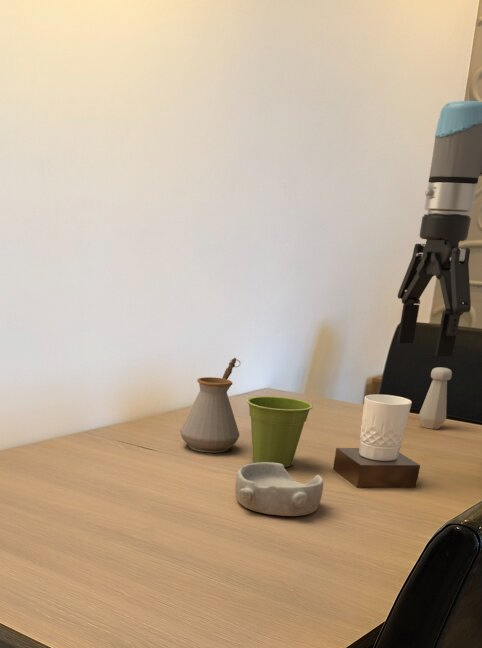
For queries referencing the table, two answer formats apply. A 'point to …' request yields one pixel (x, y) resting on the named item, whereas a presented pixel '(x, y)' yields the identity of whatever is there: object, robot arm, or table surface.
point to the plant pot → (276, 427)
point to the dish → (276, 490)
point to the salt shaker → (436, 399)
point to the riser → (375, 470)
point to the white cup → (383, 426)
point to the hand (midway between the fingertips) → (423, 349)
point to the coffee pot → (211, 416)
